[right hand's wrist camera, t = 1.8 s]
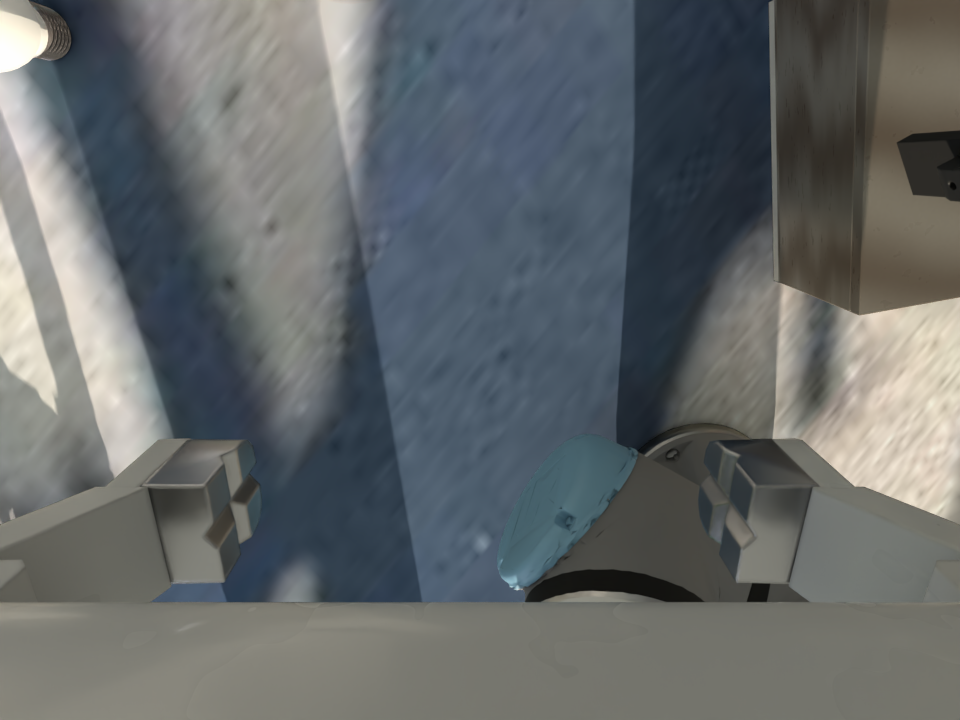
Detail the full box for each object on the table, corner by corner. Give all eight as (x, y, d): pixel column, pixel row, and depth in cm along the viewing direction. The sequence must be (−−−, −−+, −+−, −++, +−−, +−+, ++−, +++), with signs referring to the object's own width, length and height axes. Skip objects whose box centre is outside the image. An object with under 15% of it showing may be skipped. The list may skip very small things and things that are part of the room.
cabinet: (768, 2, 42) (872, -54, 31) (908, -29, 42) (1065, -97, 30) (773, 280, 49) (858, 316, 38) (893, 258, 49) (1015, 287, 38)
